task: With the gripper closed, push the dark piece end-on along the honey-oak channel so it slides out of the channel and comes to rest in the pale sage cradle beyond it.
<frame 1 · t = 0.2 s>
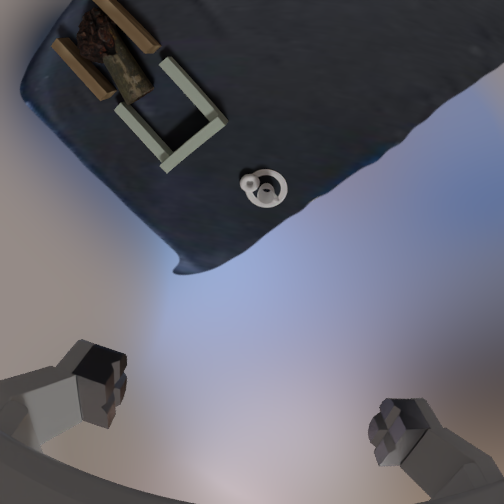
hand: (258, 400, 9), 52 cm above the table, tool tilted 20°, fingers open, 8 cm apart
dark piece: (117, 54, 47), on the table
oak channel: (107, 43, 45), on the table
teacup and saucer: (265, 172, 59), on the table
sage cradle: (168, 108, 53), on the table
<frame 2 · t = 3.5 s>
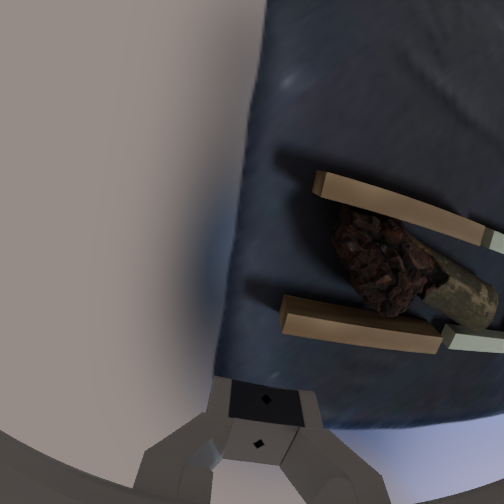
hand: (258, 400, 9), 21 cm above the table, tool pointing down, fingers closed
dark piece: (407, 271, 30), on the table
oak channel: (379, 264, 30), on the table
sage cradle: (497, 293, 31), on the table
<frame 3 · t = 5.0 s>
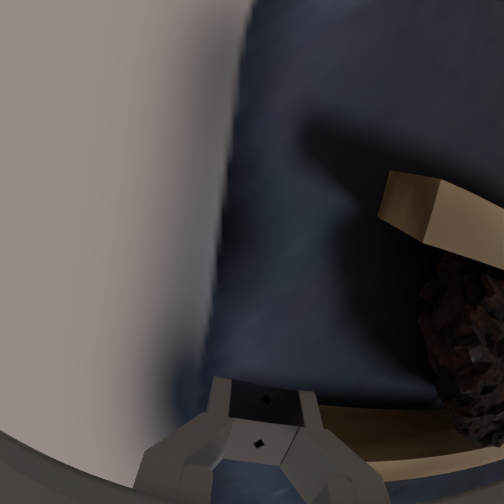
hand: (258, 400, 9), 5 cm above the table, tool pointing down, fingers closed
dark piece: (501, 348, 15), on the table
oak channel: (469, 343, 14), on the table
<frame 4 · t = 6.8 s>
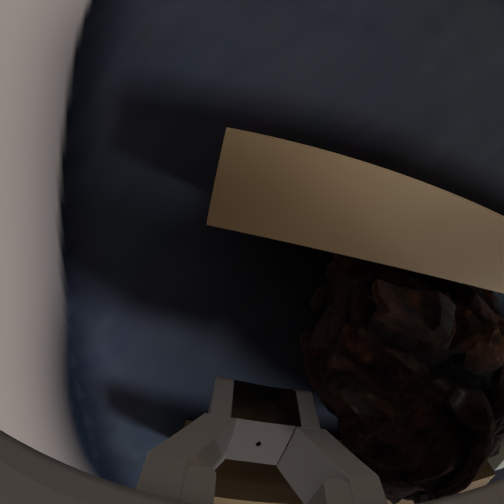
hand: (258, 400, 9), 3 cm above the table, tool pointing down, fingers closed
dark piece: (463, 370, 13), on the table, touching gripper, oak channel
oak channel: (399, 363, 12), on the table
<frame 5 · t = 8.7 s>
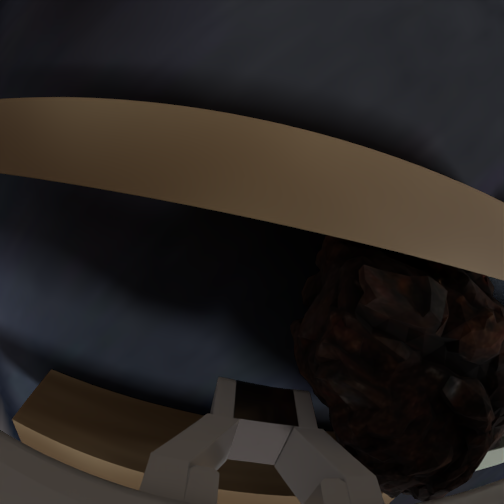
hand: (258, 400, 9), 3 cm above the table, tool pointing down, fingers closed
dark piece: (463, 360, 13), on the table, touching gripper
oak channel: (235, 329, 12), on the table
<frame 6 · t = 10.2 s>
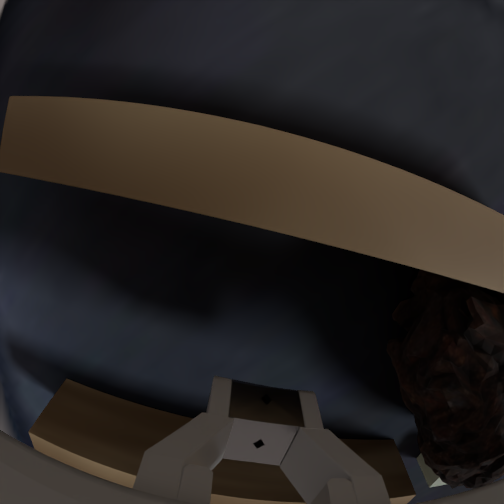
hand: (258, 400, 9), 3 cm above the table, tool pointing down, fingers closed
dark piece: (494, 370, 13), on the table
oak channel: (264, 342, 12), on the table
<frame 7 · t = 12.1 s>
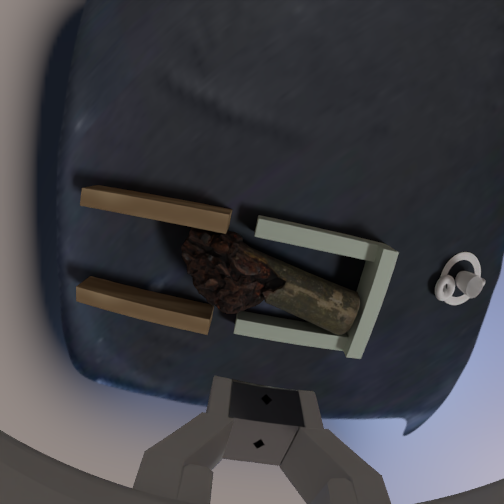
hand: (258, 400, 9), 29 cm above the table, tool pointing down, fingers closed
dark piece: (265, 277, 39), on the table
oak channel: (152, 253, 38), on the table
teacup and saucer: (449, 262, 38), on the table
sage cradle: (303, 283, 39), on the table
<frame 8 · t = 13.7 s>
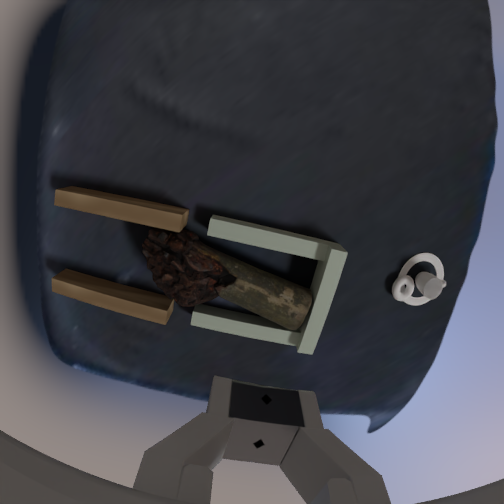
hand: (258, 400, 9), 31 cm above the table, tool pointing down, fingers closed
dark piece: (224, 273, 41), on the table
oak channel: (119, 248, 40), on the table
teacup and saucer: (409, 263, 41), on the table
sage cradle: (256, 280, 41), on the table
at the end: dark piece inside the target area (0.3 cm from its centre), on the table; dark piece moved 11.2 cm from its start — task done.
